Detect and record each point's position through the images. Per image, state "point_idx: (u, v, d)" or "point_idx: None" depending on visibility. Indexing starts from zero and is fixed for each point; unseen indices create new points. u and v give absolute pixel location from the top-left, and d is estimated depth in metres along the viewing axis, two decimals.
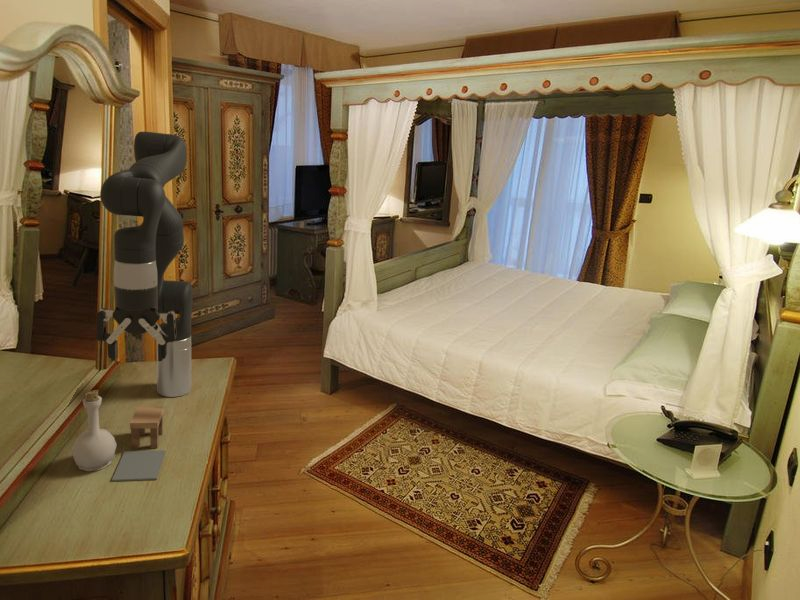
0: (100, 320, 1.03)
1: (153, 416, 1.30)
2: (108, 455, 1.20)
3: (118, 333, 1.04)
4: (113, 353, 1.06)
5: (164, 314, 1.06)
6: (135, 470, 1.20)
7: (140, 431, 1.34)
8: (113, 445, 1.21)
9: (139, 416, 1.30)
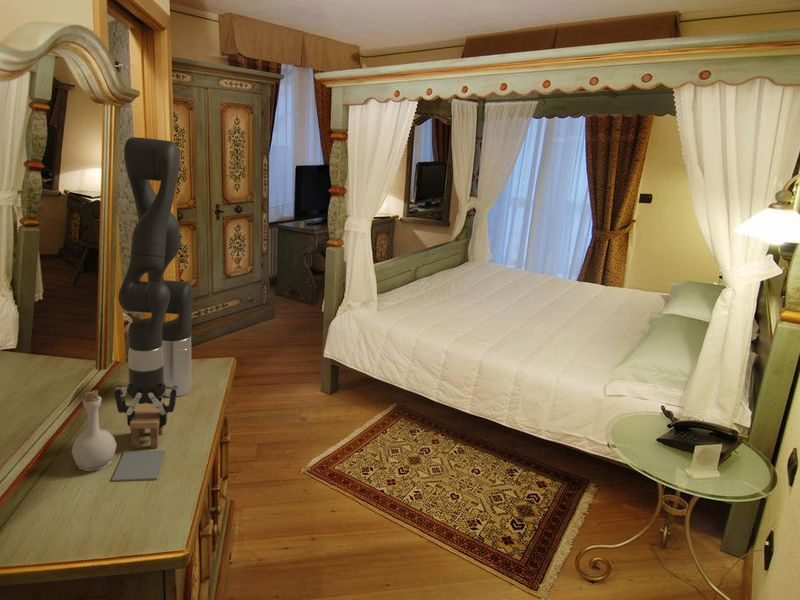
0: (118, 397, 1.27)
1: (153, 416, 1.30)
2: (108, 455, 1.20)
3: (134, 405, 1.28)
4: None
5: (169, 389, 1.30)
6: (135, 470, 1.20)
7: (140, 431, 1.34)
8: (113, 445, 1.21)
9: (139, 416, 1.30)
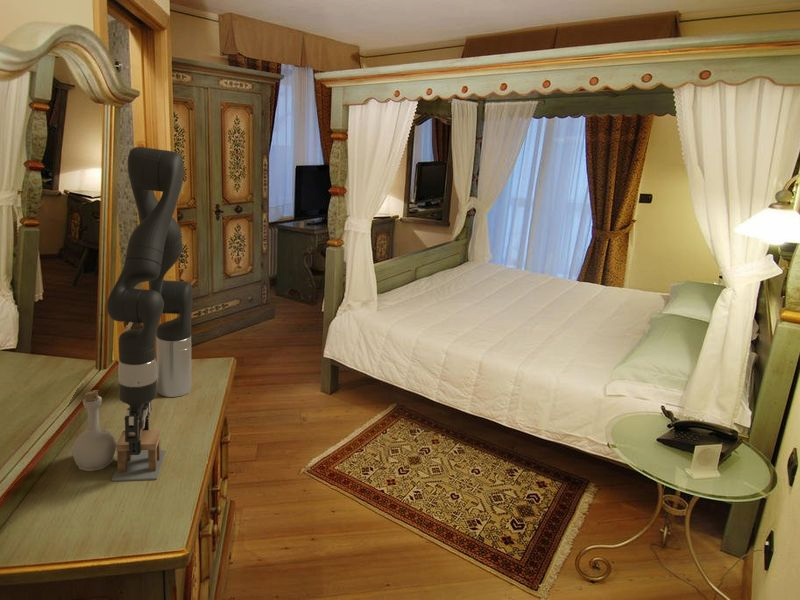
0: None
1: None
2: (108, 455, 1.20)
3: None
4: None
5: (130, 414, 1.13)
6: (135, 470, 1.20)
7: None
8: (113, 445, 1.21)
9: None
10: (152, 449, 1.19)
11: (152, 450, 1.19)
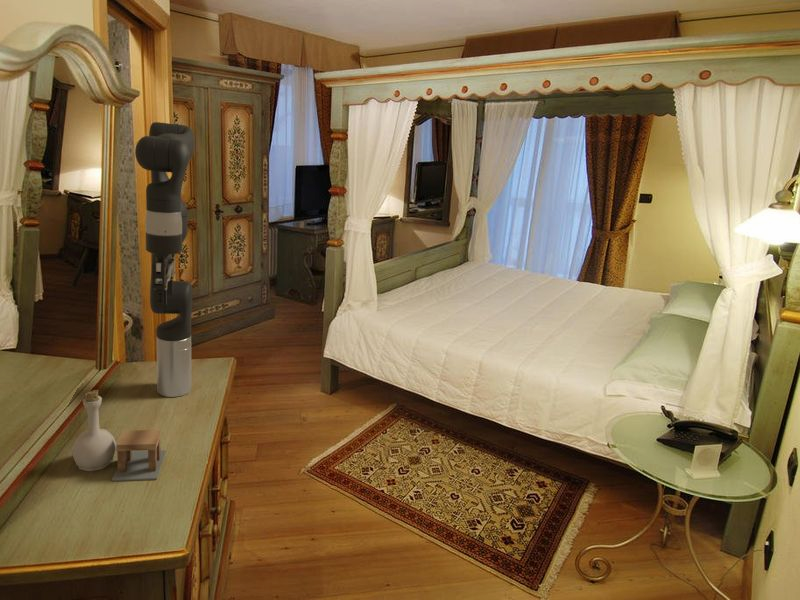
0: None
1: (132, 441, 1.19)
2: (108, 455, 1.20)
3: None
4: None
5: None
6: (135, 470, 1.20)
7: None
8: (113, 445, 1.21)
9: (136, 433, 1.22)
10: (152, 449, 1.19)
11: (152, 450, 1.19)
